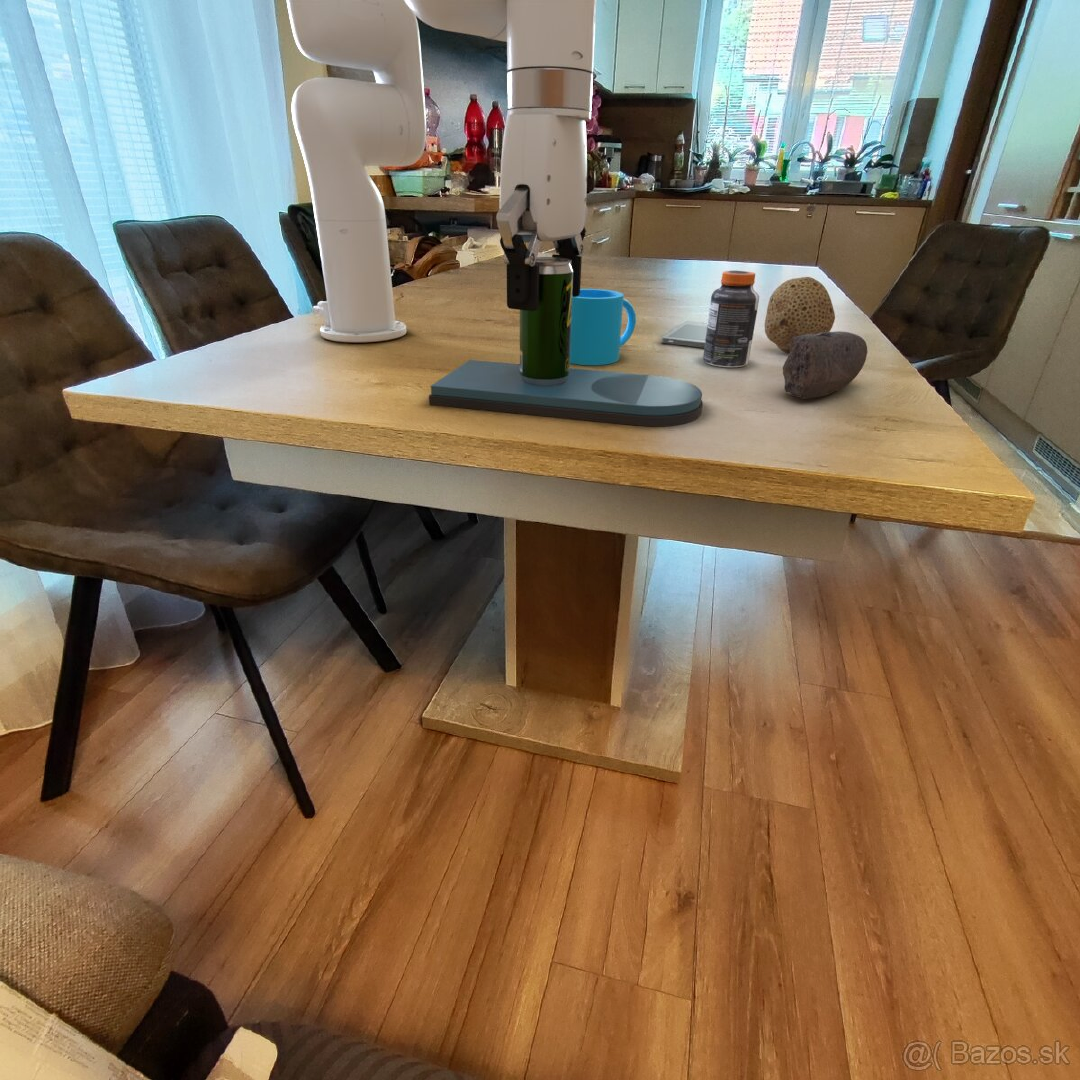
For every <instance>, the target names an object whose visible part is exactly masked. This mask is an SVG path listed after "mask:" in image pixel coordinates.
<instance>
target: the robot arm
mask: <svg viewBox="0 0 1080 1080" xmlns="http://www.w3.org/2000/svg"><path fill="white" fill-rule="evenodd" d="M286 4H287V10H288V11H287V12H288V16H289V21H290V27H291V31H292V35H293V38H294V41H295V44H296V46H297V48H298V50H299V51H300V52H301V54H302V55H303V56H305V57H306V58H307V59H309V60H310V61H313V62H316V63H319V64H322V65H328V66H335V67H340V68H348V69H349V68H350V69H356V70H364V71H372V72H373V75H374V79H375V82H373V81H372V82H371V81H364V80H360V79H351V78H343V77H332V76H331V77H330V76H320V77H319V76H318V77H312V78H309V79H307V80H305V81H303V82H301V83H300V84H299V85H298V87H297V88H296V89H295V90H294V93H293V96H292V100H291V117H292V123H293V127H294V131H295V134H296V137H297V142H298V144H299V147H300V151H301V154H302V158H303V161H304V165H305V169H306V174H307V178H308V183H309V188H310V195H311V201H312V208H313V214H314V220H315V226H316V233H317V239H318V248H319V254H320V261H321V268H322V276H323V283H324V289H325V296H326V300H325V301H323V300H319V301H318V302H317V304H316V305H314V306H313V307H312V308H311V309H312V310H311V311H312V314H313V316H318V317H323V318H324V324H323V325H321V326H320V327H319V331H320V336H321V337H322V338H323V339H326V340H328V341H333V342H339V343H375V342H384V341H390V340H395V339H399V338H401V337H403V336H405V335H406V334H407V331H408V330H407V324H405V323H404V322H402V321H399V320H396V315H395V304H394V293H393V292H394V291H393V283H392V272H391V261H390V251H389V250H390V249H389V239H388V230H387V228H388V227H387V219H386V210H385V204H384V200H383V196H382V194H381V192H380V190H379V189H378V187H377V185H376V183H375V182H374V181H373V179H372V177H371V176H370V175H369V173H368V171H367V170H366V168H365V167H408V166H412V165H414V164H416V163H417V162H418V161H419V160H420V159H421V157H422V156H423V153H424V151H425V148H426V143H427V112H426V100H425V99H426V98H425V87H424V86H425V85H424V74H423V73H424V72H423V61H422V50H421V49H422V47H421V39H420V38H421V37H420V29H419V22H418V19H419V20H420V21H422V22H423V23H424V24H425V25H427V26H430V27H432V28H433V29H437V30H442V31H447V32H453V33H460V34H466V35H471V36H477V37H484V39H489V40H495V41H500V42H506V59H507V62H506V72H507V73H506V87H507V88H506V89H507V90H506V92H507V93H506V96H507V99H506V100H507V101H506V106H507V107H506V108H507V111H506V112H507V113H506V114H507V115H506V119H505V123H504V130H503V138H502V145H501V146H502V147H501V148H502V149H501V160H500V177H499V209H498V211H497V213H496V216H495V220H496V223H497V228H498V233H499V236H500V238H499V244H500V247H501V249H502V252H503V262H504V264H505V265H506V307H507V308H508V309H510V310H517V311H518V310H519V311H520V310H526V311H535V310H537V309H538V307H539V266H538V265H534V264H535V261H536V258H537V257H538V256H539V253H540V251H541V247H542V244H543V242H552V245H553V246H554V250H555V253H553V254H551V257H557V258H566V259H570V260H571V267H572V269H573V291H572V297H577V296H579V295H580V289H581V282H582V281H581V280H582V263H583V262H582V258H583V254H584V248H585V247H584V243H583V241H584V239H585V236H586V235H587V234H586V233H587V230H586V223H587V219H588V215H589V208H588V205H587V191H588V190H587V189H588V188H587V187H588V186H587V185H588V184H587V183H588V181H587V180H588V160H587V159H588V158H587V157H588V155H587V154H588V153H587V126H586V121H591V120H592V102H593V80H594V79H593V78H594V75H593V74H594V55H595V38H596V37H595V35H596V15H597V0H286ZM526 244H528V245H526Z"/></svg>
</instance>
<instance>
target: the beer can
mask: <svg viewBox="0 0 1080 1080" xmlns="http://www.w3.org/2000/svg"><path fill="white" fill-rule="evenodd" d="M534 265H538V266H539V307H538V309H537V310H535V311H526V310H519V364H520V375H521V378H522V380H523V381H524V382H525V383H528V384H531V385H538V386H553V385H559V384H562V383H565V381H566V380H567V378H568V375H569V368H571V367H570V366H571V365H570V364H571V363H570V342H571V317H572V291H573V269H572V267H571V260H570V259H566V258H557V257H552V256H537V258H536V261H535V264H534Z"/></svg>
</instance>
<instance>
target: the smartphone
mask: <svg viewBox="0 0 1080 1080" xmlns="http://www.w3.org/2000/svg"><path fill="white" fill-rule="evenodd" d="M707 325H708V322H702V321H694V320H693V321H692V320H686V321H684V322H683V323H681V324H680V325H678V326H676V327H675V328H674V329H672V330H671V331H669V332H668V333H666V334H665V335H663V336H662V338H661V343H663V344H669V345H670V344H671V345H680V346H687V347H695V348H703V349H704V347H705V339H706V332H707Z"/></svg>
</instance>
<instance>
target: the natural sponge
mask: <svg viewBox="0 0 1080 1080" xmlns="http://www.w3.org/2000/svg"><path fill="white" fill-rule="evenodd" d="M835 313H836V312H835V309H834V306H833V302H832V299H831V296H830V294H829V291H828V290H827V288H826V287H825V286H824V284H823V283H821V282H820V281H818V280H817V279H815V278H813V277H811V276H801V277H796V278H790V279H787V280H786V281H784V282H782V283H781V284H780V285H779V286H777V288H775V290H773V292H772V294H771V295H770V297H769V300H768V304H767V308H766V315H765V318H764V333H765V336H766V337H767V339H768V340H769V341H770V342H772V343H773V344H774V345H775V346H776V347H777V348H778V349H779V350H780V351H781V352H785V353H790V351H791V343H792V339H793V338H794V337H798V336H802V335H807V334H813V335H815V334H817V333H821V332H831V331H832V329H833V326H834V323H835V320H836V314H835Z"/></svg>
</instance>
